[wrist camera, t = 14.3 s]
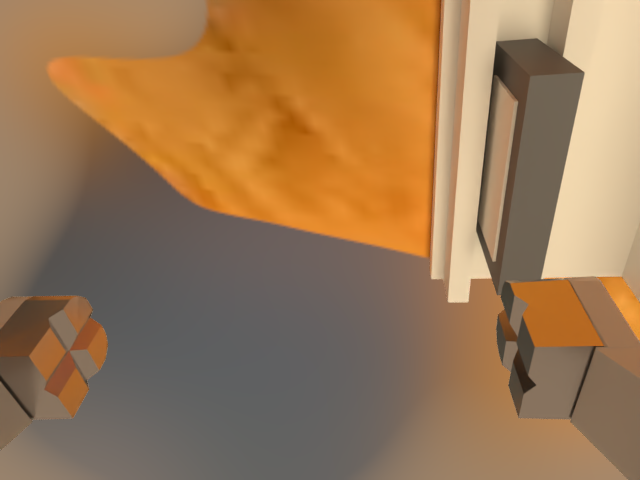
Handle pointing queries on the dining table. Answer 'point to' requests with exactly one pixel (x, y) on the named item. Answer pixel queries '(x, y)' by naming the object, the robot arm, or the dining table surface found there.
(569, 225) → the picture ledge
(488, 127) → the picture frame
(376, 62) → the dining table surface
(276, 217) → the dining table surface
